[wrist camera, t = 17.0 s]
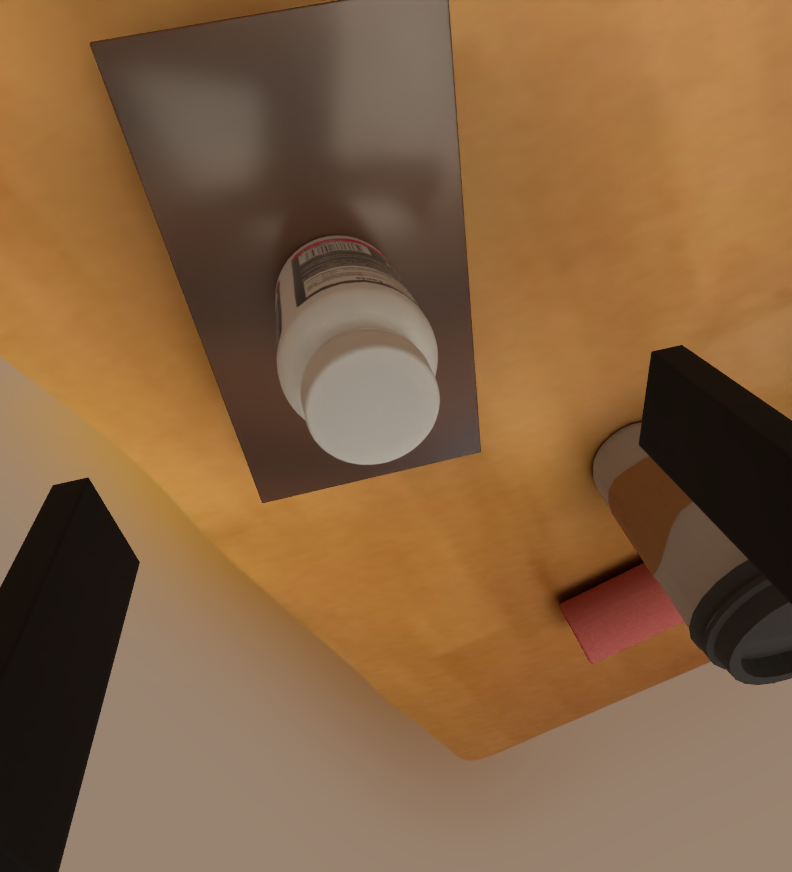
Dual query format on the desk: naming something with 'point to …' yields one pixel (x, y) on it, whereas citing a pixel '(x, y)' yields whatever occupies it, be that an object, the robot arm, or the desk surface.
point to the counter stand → (303, 195)
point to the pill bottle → (355, 351)
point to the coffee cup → (696, 565)
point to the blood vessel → (620, 613)
